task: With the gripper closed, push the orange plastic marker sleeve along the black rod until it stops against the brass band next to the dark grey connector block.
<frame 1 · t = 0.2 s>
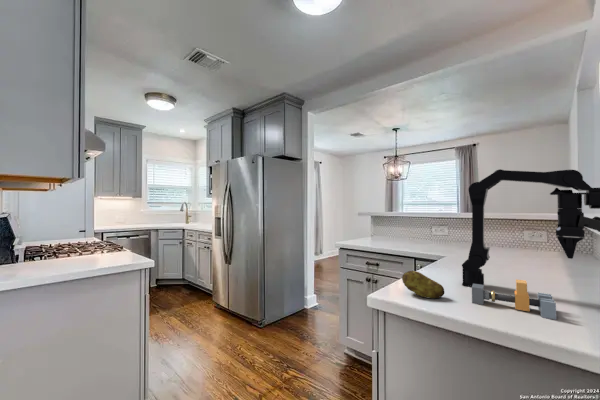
hand: (570, 256, 89), 14 cm above the counter, fingers open, 9 cm apart
black rod: (509, 306, 84), resting on connector
potato: (422, 296, 95), on the counter
connector: (478, 301, 88), on the counter
sleeve: (521, 294, 82), point 4 cm above the counter, slide at 0.0 cm
band: (493, 304, 86), on the counter
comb: (546, 313, 79), on the counter
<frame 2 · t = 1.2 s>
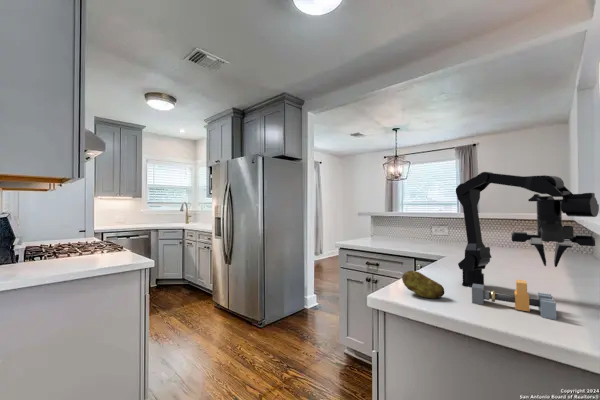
hand: (550, 266, 85), 12 cm above the counter, fingers closed
nothing on the counter moved.
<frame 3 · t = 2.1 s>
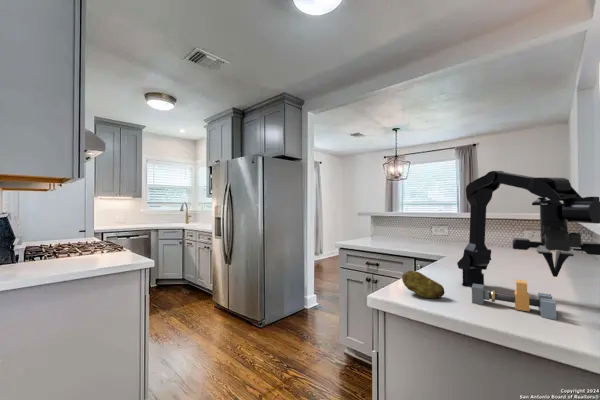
hand: (554, 276, 78), 11 cm above the counter, fingers closed
nothing on the counter moved.
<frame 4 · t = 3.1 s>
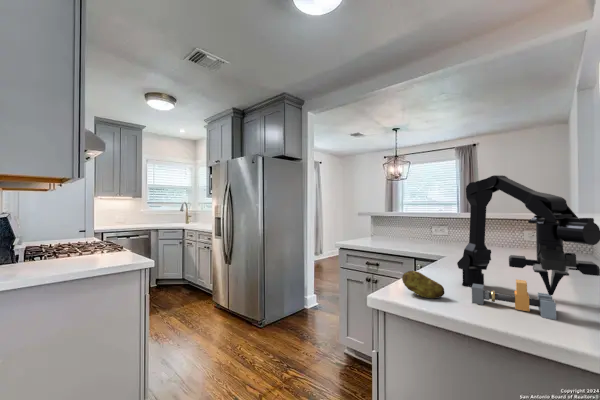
hand: (550, 294, 78), 5 cm above the counter, fingers closed
nothing on the counter moved.
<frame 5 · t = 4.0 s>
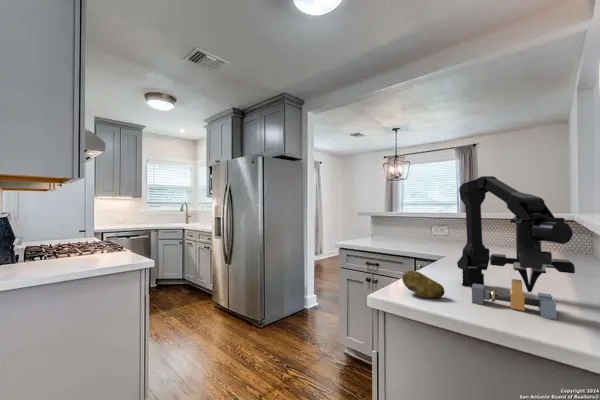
hand: (529, 291, 81), 5 cm above the counter, fingers closed
sleeve: (516, 294, 83), point 4 cm above the counter, slide at 1.1 cm, touching gripper
everything else where it was.
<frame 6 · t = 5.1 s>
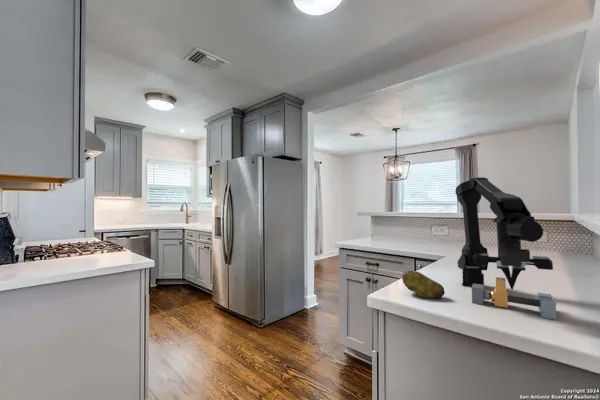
hand: (512, 289, 83), 5 cm above the counter, fingers closed
sleeve: (500, 291, 85), point 4 cm above the counter, slide at 5.0 cm, touching band, gripper
everything else where it was.
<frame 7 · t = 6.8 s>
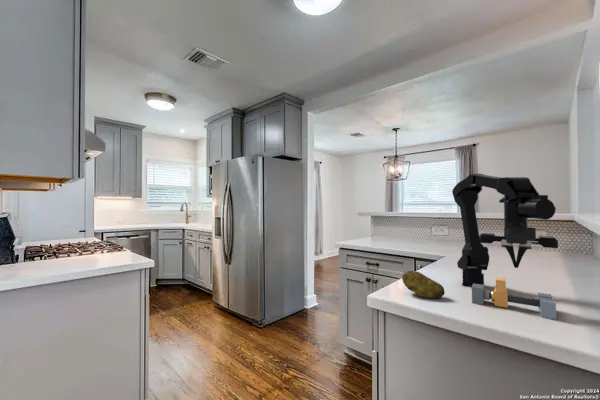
hand: (516, 267, 85), 12 cm above the counter, fingers closed
sleeve: (500, 291, 85), point 4 cm above the counter, slide at 5.0 cm, touching band
everything else where it was.
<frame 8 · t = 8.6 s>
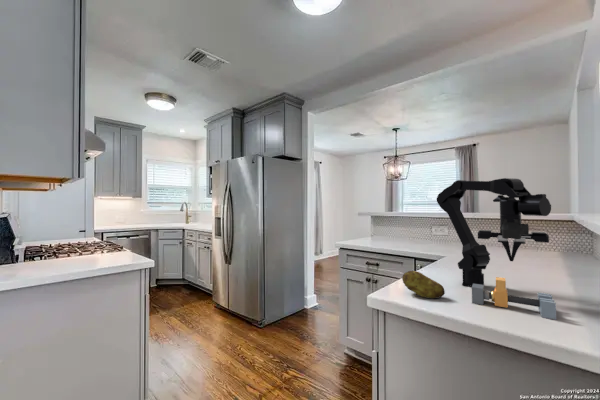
hand: (511, 261, 93), 12 cm above the counter, fingers closed
nothing on the counter moved.
at the end: sleeve slide at 5.0 cm; sleeve 2.0 cm from the band (horizontally); sleeve touching band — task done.
